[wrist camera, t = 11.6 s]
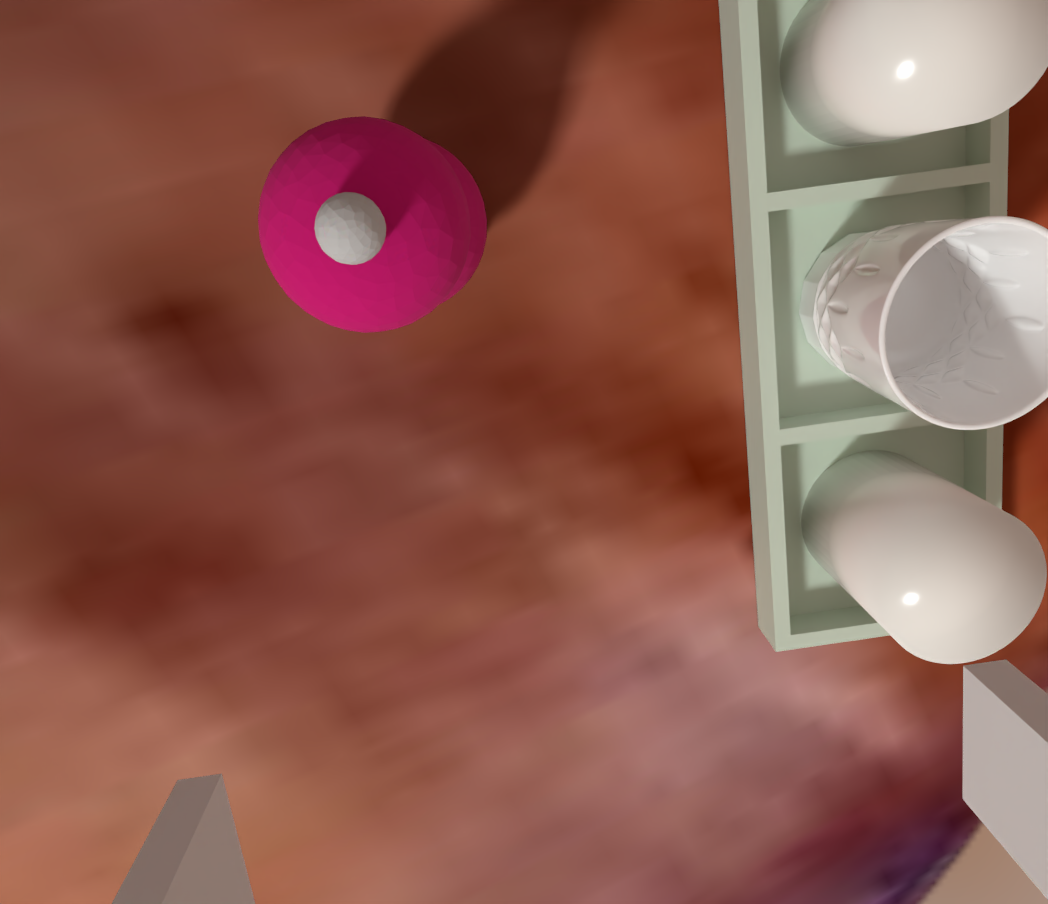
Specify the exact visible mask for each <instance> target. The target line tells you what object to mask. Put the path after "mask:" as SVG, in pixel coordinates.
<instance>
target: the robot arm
mask: <svg viewBox="0 0 1048 904" xmlns="http://www.w3.org/2000/svg"><path fill="white" fill-rule="evenodd" d="M963 800H964V801H965V802H966V803H967V805H968V806H969V807H970V808H971V809H972V811H973V812H974V813H975V814H976V815H977V816H978V818H979V819H980V820H981V821H982V822H983V824H984V825H985V826H986V827H987V828H988V830H989V831H990V832H991V833H992V834H993V835H994V837H995V838H996V839H997V840H998V841H999V843H1000V844H1001V845H1002V846H1003V847H1004V849H1005V850H1006V851H1007V852H1008V853H1009V854H1010V856H1011V857H1012V858H1013V859H1014V860H1015V862H1016V863H1017V864H1018V865H1019V866H1020V867H1021V869H1022V870H1023V871H1024V872H1025V873H1026V875H1027V876H1028V877H1029V878H1030V879H1031V881H1032V882H1033V883H1034V884H1035V885H1036V887H1037V888H1038V889H1039V890H1040V891H1041V892H1042V894H1043V895H1044V896H1045V897H1046V898H1047V899H1048V694H1047V693H1046V692H1044V691H1043V690H1042V689H1041V688H1040V687H1038V686H1037V685H1036V684H1035V683H1034V682H1032V681H1031V680H1030V679H1029V678H1028V677H1026V676H1025V675H1024V674H1023V673H1022V672H1020V671H1019V670H1018V669H1017V668H1015V667H1014V666H1013V665H1012V664H1011V663H1009V662H1008V661H1007V660H1000V661H993V662H986V663H979V664H972V665H966V666H963ZM112 904H255V901H254V897H253V893H252V889H251V886H250V882H249V878H248V874H247V870H246V866H245V862H244V858H243V854H242V851H241V847H240V843H239V839H238V835H237V831H236V827H235V823H234V820H233V816H232V812H231V808H230V804H229V800H228V796H227V792H226V789H225V785H224V781H223V777H222V774H217V775H210V776H203V777H196V778H189V779H182V780H178V781H177V782H176V784H175V786H174V788H173V790H172V792H171V794H170V796H169V797H168V799H167V801H166V803H165V805H164V807H163V809H162V811H161V812H160V814H159V816H158V818H157V820H156V822H155V824H154V826H153V827H152V829H151V831H150V833H149V835H148V837H147V839H146V841H145V842H144V844H143V846H142V848H141V850H140V852H139V854H138V856H137V857H136V859H135V861H134V863H133V865H132V867H131V869H130V870H129V872H128V874H127V876H126V878H125V880H124V882H123V884H122V885H121V887H120V889H119V891H118V893H117V895H116V897H115V899H114V900H113V902H112Z"/></svg>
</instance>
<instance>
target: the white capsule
mask: <svg viewBox="0 0 1048 904" xmlns="http://www.w3.org/2000/svg"><path fill="white" fill-rule="evenodd" d="M801 529H802V535H803V539H804V542H805V545H806V547H807V549H808V551H809V552H810V554H811V556H812V557H813V558H814V559H815V560H816V562H817V563H818V564H819V565H820V566H821V567H822V568H823V569H824V570H825V571H826V572H827V573H828V574H829V575H830V576H831V577H832V578H833V579H834V580H835V581H836V582H837V583H838V584H839V585H840V586H841V587H842V588H843V589H844V590H845V591H846V592H847V593H848V594H849V595H850V596H851V597H852V598H853V599H854V600H856V601H857V602H858V603H859V604H860V605H861V606H862V607H863V608H864V609H865V610H866V611H867V612H868V613H869V614H870V615H871V616H872V617H873V618H874V619H875V620H876V621H877V622H878V623H879V624H880V625H881V626H882V627H883V628H884V629H885V630H886V631H887V632H888V633H889V634H890V635H891V636H892V637H893V638H894V639H895V640H896V641H897V642H898V643H899V644H900V645H901V646H902V647H903V648H904V649H905V650H907V651H908V652H910V653H912V654H913V655H915V656H917V657H919V658H922V659H924V660H928V661H931V662H936V663H942V664H958V663H966V662H971V661H975V660H978V659H981V658H984V657H986V656H989V655H991V654H993V653H995V652H997V651H998V650H1000V649H1002V648H1003V647H1005V646H1006V645H1008V644H1009V643H1010V642H1012V641H1013V640H1014V639H1015V638H1016V637H1017V636H1018V635H1019V634H1020V633H1021V632H1022V631H1023V630H1024V629H1025V628H1026V627H1027V625H1028V624H1029V623H1030V621H1031V620H1032V618H1033V617H1034V615H1035V613H1036V612H1037V610H1038V608H1039V606H1040V603H1041V600H1042V598H1043V595H1044V590H1045V586H1046V577H1047V571H1046V561H1045V556H1044V553H1043V550H1042V547H1041V545H1040V543H1039V541H1038V539H1037V537H1036V536H1035V535H1034V533H1033V532H1032V531H1031V530H1030V529H1029V528H1028V527H1027V526H1026V525H1025V524H1024V523H1023V522H1022V521H1020V520H1019V519H1017V518H1016V517H1014V516H1012V515H1011V514H1009V513H1007V512H1005V511H1003V510H1002V509H1000V508H998V507H996V506H994V505H992V504H991V503H989V502H987V501H985V500H983V499H981V498H980V497H978V496H976V495H974V494H972V493H970V492H969V491H967V490H965V489H963V488H961V487H959V486H958V485H956V484H954V483H952V482H950V481H948V480H947V479H945V478H943V477H941V476H939V475H938V474H936V473H934V472H932V471H930V470H928V469H927V468H925V467H923V466H921V465H919V464H917V463H916V462H914V461H912V460H910V459H908V458H906V457H904V456H902V455H900V454H897V453H894V452H890V451H884V450H869V451H862V452H858V453H855V454H852V455H849V456H847V457H845V458H842V459H840V460H839V461H837V462H836V463H834V464H832V465H831V466H830V467H829V468H827V469H826V470H825V471H824V472H823V473H822V474H821V475H820V476H819V477H818V479H817V480H816V481H815V483H814V484H813V485H812V487H811V489H810V490H809V492H808V495H807V497H806V499H805V502H804V505H803V509H802V516H801Z"/></svg>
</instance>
